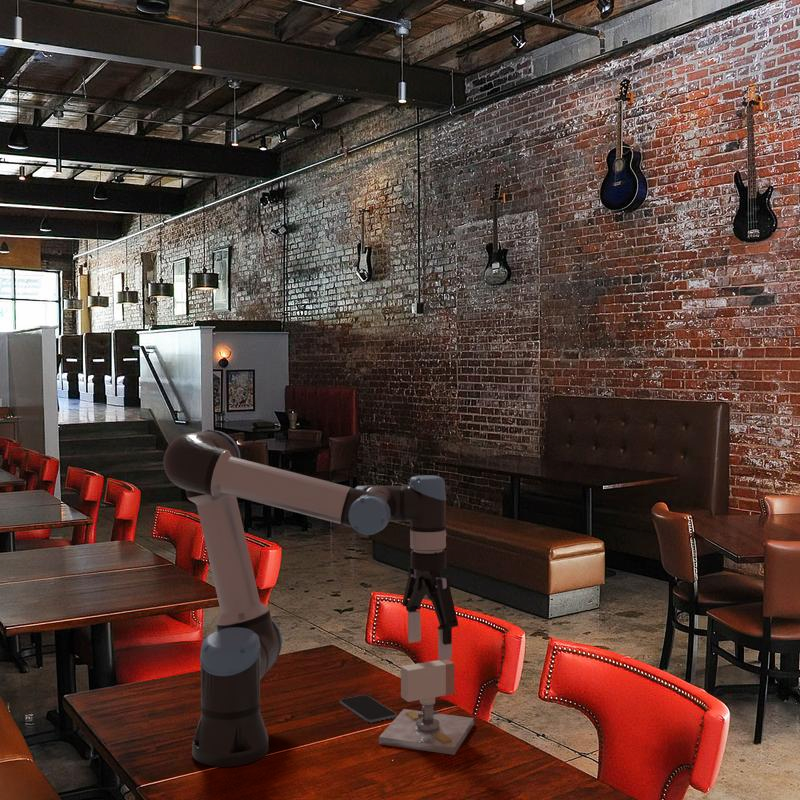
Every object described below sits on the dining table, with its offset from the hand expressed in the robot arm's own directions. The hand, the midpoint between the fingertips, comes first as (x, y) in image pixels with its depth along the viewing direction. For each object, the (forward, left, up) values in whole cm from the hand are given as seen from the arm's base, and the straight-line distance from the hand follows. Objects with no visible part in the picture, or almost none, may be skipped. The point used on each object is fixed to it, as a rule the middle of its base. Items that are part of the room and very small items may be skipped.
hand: (429, 650), depth 185 cm
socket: (0, 0, -18) cm, 18 cm away
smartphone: (+9, +17, -19) cm, 27 cm away
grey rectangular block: (0, 0, -11) cm, 11 cm away
